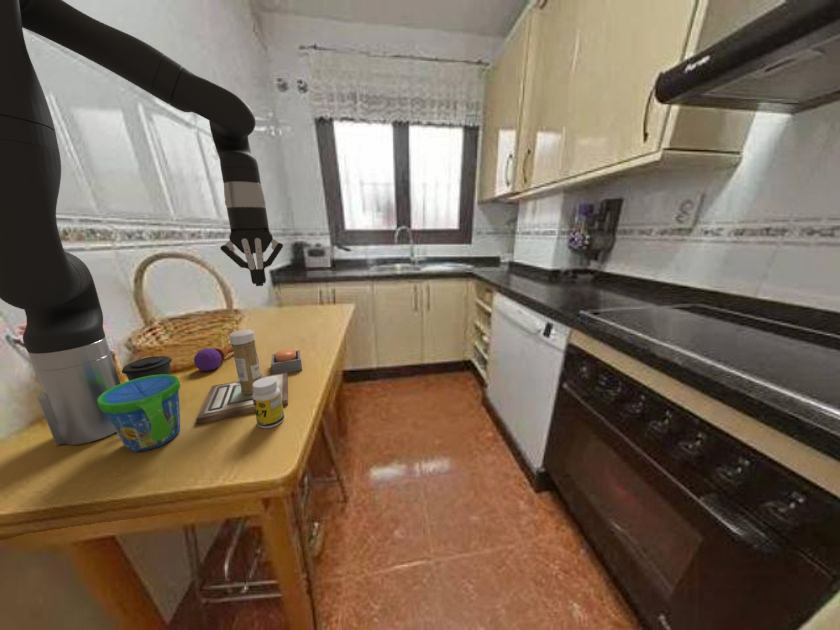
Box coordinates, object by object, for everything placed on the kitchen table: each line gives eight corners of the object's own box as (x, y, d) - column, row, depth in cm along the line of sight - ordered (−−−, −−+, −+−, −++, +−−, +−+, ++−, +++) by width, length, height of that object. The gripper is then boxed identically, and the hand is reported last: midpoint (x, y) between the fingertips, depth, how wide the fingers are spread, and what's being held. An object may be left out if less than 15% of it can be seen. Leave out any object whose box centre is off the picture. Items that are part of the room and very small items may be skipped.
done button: (277, 372, 80) (274, 358, 79) (277, 364, 85) (275, 351, 84) (297, 368, 82) (295, 354, 81) (297, 361, 86) (295, 348, 85)
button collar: (272, 375, 79) (270, 364, 78) (273, 364, 85) (272, 354, 84) (302, 370, 81) (300, 359, 81) (301, 360, 88) (299, 350, 87)
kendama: (259, 334, 99) (209, 355, 79) (258, 352, 100) (209, 376, 80) (241, 330, 99) (188, 350, 80) (241, 348, 100) (188, 371, 81)
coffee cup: (154, 415, 63) (141, 369, 60) (123, 411, 65) (108, 367, 62) (190, 394, 71) (180, 353, 68) (161, 391, 72) (150, 351, 70)
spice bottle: (266, 390, 69) (256, 332, 65) (244, 397, 66) (231, 337, 62) (260, 382, 72) (250, 327, 68) (238, 390, 69) (226, 332, 65)
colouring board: (197, 424, 60) (195, 414, 59) (213, 390, 72) (211, 382, 72) (288, 404, 66) (286, 396, 65) (287, 376, 78) (286, 369, 77)
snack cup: (201, 443, 54) (187, 391, 51) (118, 478, 47) (97, 419, 44) (182, 410, 65) (170, 364, 62) (112, 434, 57) (95, 384, 55)
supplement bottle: (251, 425, 59) (243, 384, 57) (273, 412, 63) (266, 374, 61) (268, 432, 57) (261, 390, 55) (290, 418, 61) (283, 378, 59)
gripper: (279, 207, 73) (290, 280, 78) (214, 207, 69) (229, 285, 73) (279, 205, 67) (290, 285, 71) (206, 205, 62) (224, 291, 67)
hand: (259, 285), depth 72 cm, fingers closed
